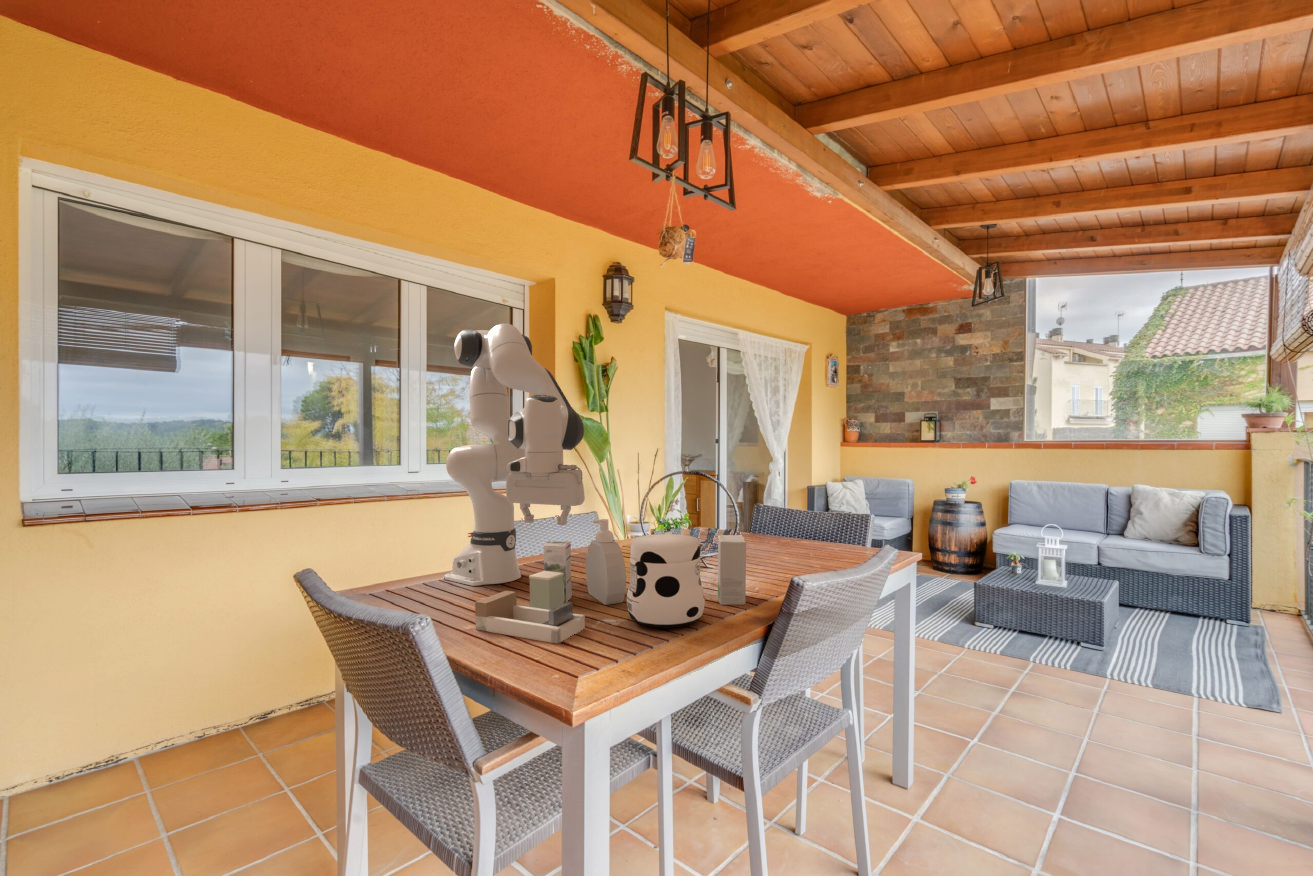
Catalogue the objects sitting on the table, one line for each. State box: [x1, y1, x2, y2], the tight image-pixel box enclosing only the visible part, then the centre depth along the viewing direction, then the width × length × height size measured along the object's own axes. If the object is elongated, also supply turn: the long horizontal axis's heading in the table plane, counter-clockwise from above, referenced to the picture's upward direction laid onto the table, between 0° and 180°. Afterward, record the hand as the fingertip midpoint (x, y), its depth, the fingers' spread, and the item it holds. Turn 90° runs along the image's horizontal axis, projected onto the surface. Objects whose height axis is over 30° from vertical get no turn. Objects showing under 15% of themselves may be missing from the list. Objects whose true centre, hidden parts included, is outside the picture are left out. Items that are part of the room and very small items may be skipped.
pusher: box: [542, 601, 574, 627], centre depth 129 cm, size 4×7×6 cm, turn 153°
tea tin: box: [528, 570, 565, 610], centre depth 143 cm, size 6×6×9 cm
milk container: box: [626, 533, 706, 629], centre depth 136 cm, size 17×17×18 cm
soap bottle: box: [585, 518, 627, 606], centre depth 155 cm, size 16×5×20 cm, turn 26°
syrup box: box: [543, 540, 573, 604], centre depth 154 cm, size 6×6×14 cm
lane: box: [474, 590, 586, 645], centre depth 132 cm, size 22×10×6 cm, turn 63°
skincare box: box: [717, 534, 747, 606], centre depth 151 cm, size 8×7×16 cm
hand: (545, 523), depth 143 cm, fingers open, 8 cm apart
